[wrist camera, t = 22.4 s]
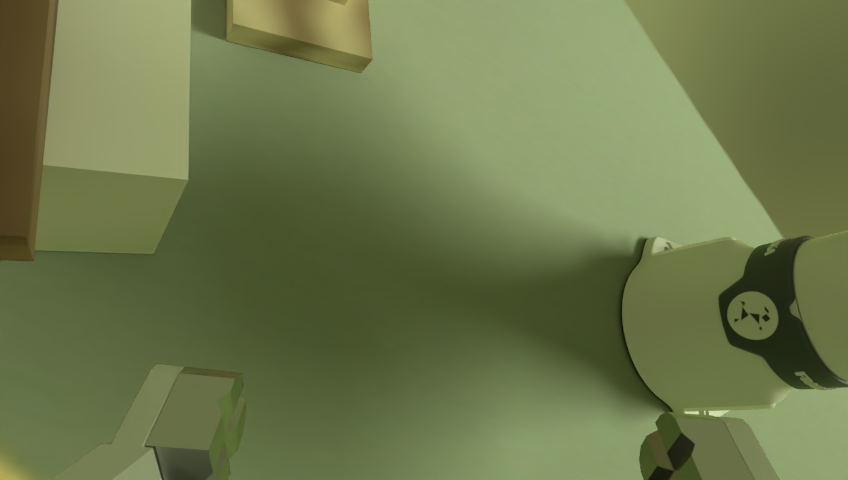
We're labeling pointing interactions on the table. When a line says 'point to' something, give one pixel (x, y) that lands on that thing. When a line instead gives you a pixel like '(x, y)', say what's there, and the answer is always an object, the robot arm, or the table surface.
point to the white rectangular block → (115, 125)
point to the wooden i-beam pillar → (304, 29)
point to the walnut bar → (23, 118)
